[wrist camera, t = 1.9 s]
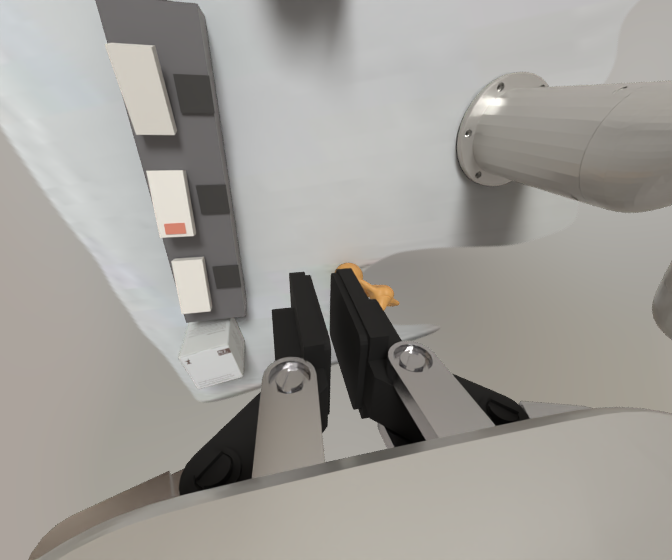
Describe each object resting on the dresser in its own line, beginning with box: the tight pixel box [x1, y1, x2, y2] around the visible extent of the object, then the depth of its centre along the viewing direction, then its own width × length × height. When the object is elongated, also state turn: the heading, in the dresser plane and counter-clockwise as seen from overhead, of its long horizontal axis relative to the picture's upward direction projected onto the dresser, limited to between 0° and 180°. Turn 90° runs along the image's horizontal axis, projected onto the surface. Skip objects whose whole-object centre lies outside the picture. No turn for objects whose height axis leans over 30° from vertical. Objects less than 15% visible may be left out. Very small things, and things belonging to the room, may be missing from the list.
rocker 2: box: [146, 170, 196, 238], centre depth 29 cm, size 3×6×1 cm, turn 178°
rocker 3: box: [171, 257, 212, 314], centre depth 33 cm, size 3×6×1 cm, turn 178°
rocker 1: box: [105, 43, 177, 135], centre depth 24 cm, size 3×6×1 cm, turn 178°
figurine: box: [335, 263, 399, 311], centre depth 38 cm, size 8×6×12 cm
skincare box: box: [178, 318, 245, 389], centre depth 40 cm, size 6×6×7 cm
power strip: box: [95, 0, 246, 323], centre depth 30 cm, size 7×36×4 cm, turn 178°
